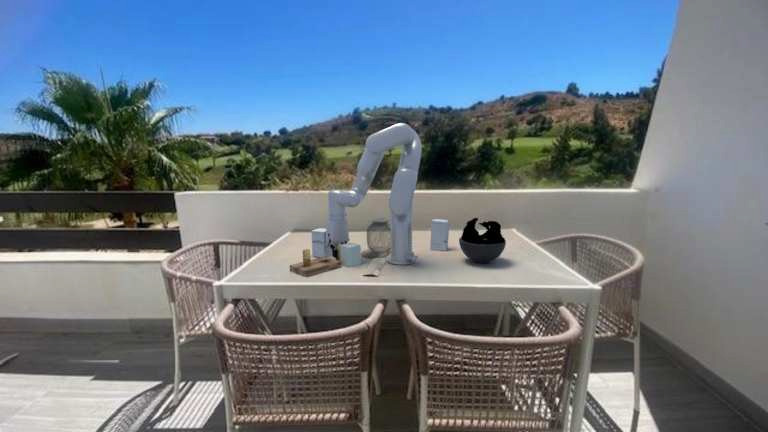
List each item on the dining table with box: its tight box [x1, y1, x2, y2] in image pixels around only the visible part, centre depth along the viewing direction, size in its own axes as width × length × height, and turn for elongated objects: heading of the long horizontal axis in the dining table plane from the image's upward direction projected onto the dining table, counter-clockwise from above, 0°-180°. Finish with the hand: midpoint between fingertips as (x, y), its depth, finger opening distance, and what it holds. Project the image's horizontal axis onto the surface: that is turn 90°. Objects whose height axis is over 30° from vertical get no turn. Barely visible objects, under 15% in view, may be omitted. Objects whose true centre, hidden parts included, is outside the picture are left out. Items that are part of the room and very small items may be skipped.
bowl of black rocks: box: [458, 217, 507, 264], centre depth 170 cm, size 20×20×19 cm
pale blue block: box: [339, 242, 362, 268], centre depth 169 cm, size 6×6×9 cm
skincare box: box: [429, 218, 450, 252], centre depth 193 cm, size 8×6×15 cm
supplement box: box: [311, 227, 333, 258], centre depth 183 cm, size 7×7×13 cm
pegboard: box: [289, 248, 343, 278], centre depth 163 cm, size 12×18×9 cm, turn 136°
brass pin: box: [334, 242, 341, 261], centre depth 177 cm, size 3×3×9 cm
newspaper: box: [362, 257, 387, 278], centre depth 164 cm, size 24×7×2 cm, turn 172°
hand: (338, 256), depth 177 cm, fingers closed on brass pin, 3 cm apart
